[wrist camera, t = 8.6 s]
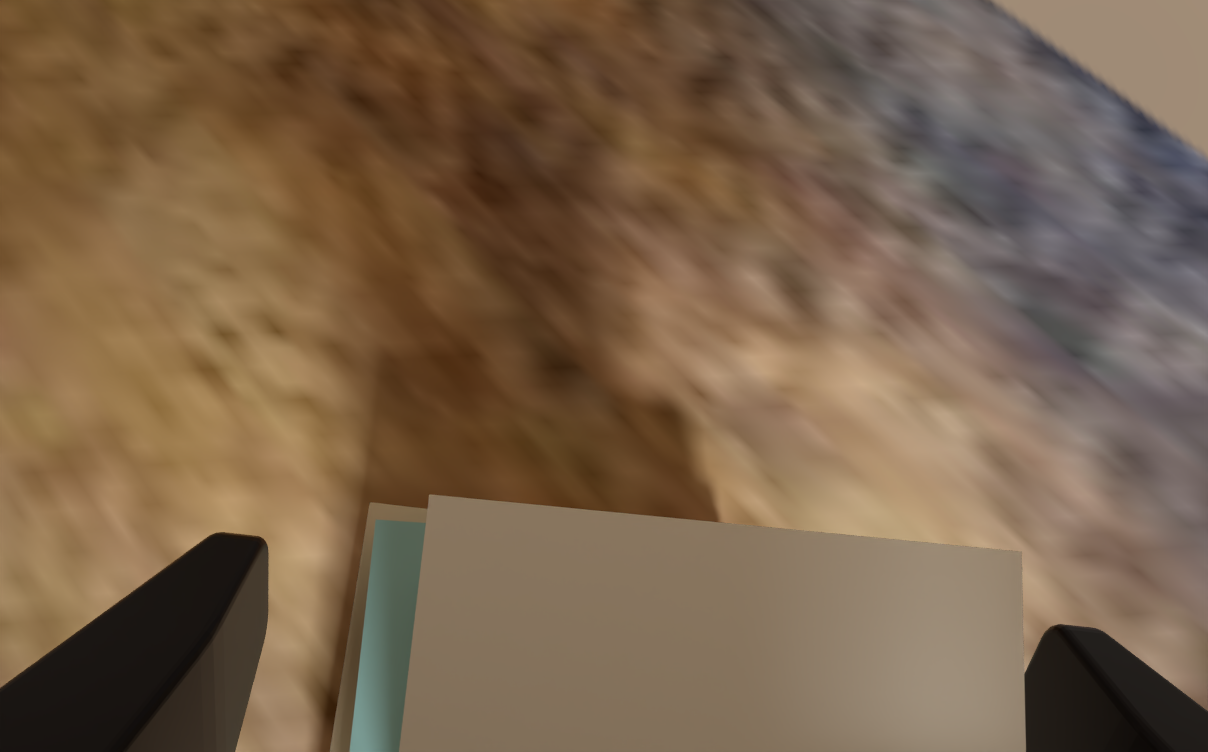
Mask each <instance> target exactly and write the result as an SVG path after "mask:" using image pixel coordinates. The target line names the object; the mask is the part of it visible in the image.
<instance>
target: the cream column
mask: <svg viewBox="0 0 1208 752" xmlns="http://www.w3.org/2000/svg"><path fill="white" fill-rule="evenodd" d="M399 752H1026V729H1025V683H1024V637H1023V591H1022V552H1020V551H1010V550H1000V549H989V548H979V547H969V546H958V545H948V544H938V543H927V542H917V541H907V540H896V539H886V538H876V537H865V536H855V535H845V534H834V533H824V532H814V531H803V530H793V529H782V528H772V527H762V526H751V525H741V524H731V523H720V522H710V521H700V520H689V519H679V518H669V517H658V516H648V515H638V514H627V513H617V512H607V511H596V510H586V509H576V508H565V507H555V506H545V505H534V504H524V503H514V502H503V501H493V500H483V499H472V498H462V497H451V496H441V495H431V494H429V501H428V509H427V518H426V526H425V535H424V543H423V552H422V560H421V569H420V577H419V586H418V594H417V603H416V611H415V620H414V628H413V637H412V645H411V654H410V662H409V671H408V679H407V688H406V696H405V705H404V713H403V722H402V730H401V739H400V747H399Z"/></svg>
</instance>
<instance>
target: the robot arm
mask: <svg viewBox="0 0 1208 752" xmlns="http://www.w3.org/2000/svg"><path fill="white" fill-rule="evenodd" d="M267 621H268V546H267V543H266V541H265V540H264V539H263V538H261V537H259V536H252V535H243V534H234V533H225V532H220V533H215V534H212V535H210V536H208V537H207V538H206V539H204V540H203V541H201V542H200V543H199V544H197V545H196V546H195V547H193V548H192V549H190V550H189V551H188V552H186V553H185V554H184V555H182V556H181V557H179V558H178V559H177V560H175V561H174V562H173V563H171V564H170V565H168V566H167V567H166V568H164V569H163V570H162V571H160V572H159V573H157V574H156V575H155V576H153V577H152V578H151V579H149V580H148V581H146V582H145V583H144V584H142V585H141V586H140V587H138V588H137V589H135V590H134V591H133V592H131V593H130V594H129V595H127V596H126V597H124V598H123V599H122V600H120V601H119V602H118V603H116V604H115V605H113V606H112V607H111V608H109V609H108V610H107V611H105V612H104V613H102V614H101V615H100V616H98V617H97V618H96V619H94V620H93V621H92V622H90V623H89V624H87V625H86V626H85V627H83V628H82V629H81V630H79V631H78V632H76V633H75V634H74V635H72V636H71V637H70V638H68V639H67V640H65V641H64V642H63V643H61V644H60V645H59V646H57V647H56V648H54V649H53V650H52V651H50V652H49V653H48V654H46V655H45V656H43V657H42V658H41V659H39V660H38V661H37V662H35V663H34V664H32V665H31V666H30V667H28V668H27V669H26V670H24V671H23V672H21V673H20V674H19V675H17V676H16V677H15V678H13V679H12V680H10V681H9V682H8V683H6V684H5V685H4V686H2V687H1V688H0V752H235V750H236V746H237V742H238V738H239V735H240V731H241V727H242V723H243V719H244V716H245V712H246V708H247V704H248V701H249V697H250V693H251V689H252V685H253V682H254V678H255V674H256V670H257V666H258V663H259V659H260V655H261V651H262V647H263V644H264V639H265V634H266V628H267ZM1024 683H1025V729H1026V752H1208V711H1207V710H1205V709H1204V708H1203V707H1201V706H1200V705H1199V704H1197V703H1196V702H1195V701H1194V700H1192V699H1191V698H1190V697H1188V696H1187V695H1186V694H1184V693H1183V692H1182V691H1180V690H1179V689H1178V688H1177V687H1175V686H1174V685H1173V684H1171V683H1170V682H1169V681H1167V680H1166V679H1165V678H1164V677H1162V676H1161V675H1160V674H1158V673H1157V672H1156V671H1154V670H1153V669H1152V668H1150V667H1149V666H1148V665H1147V664H1145V663H1144V662H1143V661H1141V660H1140V659H1139V658H1137V657H1136V656H1135V655H1133V654H1132V653H1131V652H1130V651H1128V650H1127V649H1126V648H1124V647H1123V646H1122V645H1120V644H1119V643H1118V642H1117V641H1115V640H1114V639H1113V638H1111V637H1110V636H1109V635H1107V634H1106V633H1104V632H1103V631H1101V630H1099V629H1096V628H1090V627H1081V626H1072V625H1063V624H1058V625H1054V626H1052V627H1050V628H1049V629H1048V630H1047V631H1045V633H1044V635H1043V636H1042V638H1041V640H1040V642H1039V644H1038V646H1037V648H1036V651H1035V653H1034V655H1033V657H1032V659H1031V661H1030V663H1029V665H1028V668H1027V670H1026V672H1025V674H1024Z"/></svg>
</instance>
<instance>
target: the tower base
mask: <svg viewBox="0 0 1208 752" xmlns="http://www.w3.org/2000/svg"><path fill="white" fill-rule="evenodd" d="M426 518H427V509H424V508H416V507H407V506H399V505H390V504H382V503H373V502H370V503H369V510H368V516H367V522H366V528H365V535H364V541H363V547H362V553H361V560H360V566H359V572H358V578H357V584H356V591H355V597H354V603H353V609H352V616H351V622H350V628H349V634H348V641H347V647H346V653H345V659H344V665H343V672H342V678H341V684H340V690H339V697H338V703H337V709H336V715H335V721H334V728H333V734H332V740H331V746H330V752H350V743H351V734H352V725H353V716H354V708H355V699H356V690H357V681H358V672H359V663H360V654H361V645H362V637H363V628H364V619H365V610H366V601H367V592H368V583H369V575H370V566H371V557H372V548H373V539H374V530H375V521H376V519H377V520H391V521H405V522H419V523H426Z"/></svg>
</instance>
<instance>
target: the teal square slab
mask: <svg viewBox="0 0 1208 752" xmlns="http://www.w3.org/2000/svg"><path fill="white" fill-rule="evenodd" d="M425 526H426V523H419V522H405V521H391V520H377V519H376V521H375V530H374V539H373V548H372V557H371V566H370V575H369V583H368V592H367V601H366V610H365V619H364V628H363V637H362V645H361V654H360V663H359V672H358V681H357V690H356V699H355V708H354V716H353V725H352V734H351V743H350V752H399V747H400V739H401V730H402V722H403V713H404V705H405V696H406V688H407V679H408V671H409V662H410V654H411V645H412V637H413V628H414V620H415V611H416V603H417V594H418V586H419V577H420V569H421V560H422V552H423V543H424V535H425Z"/></svg>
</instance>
